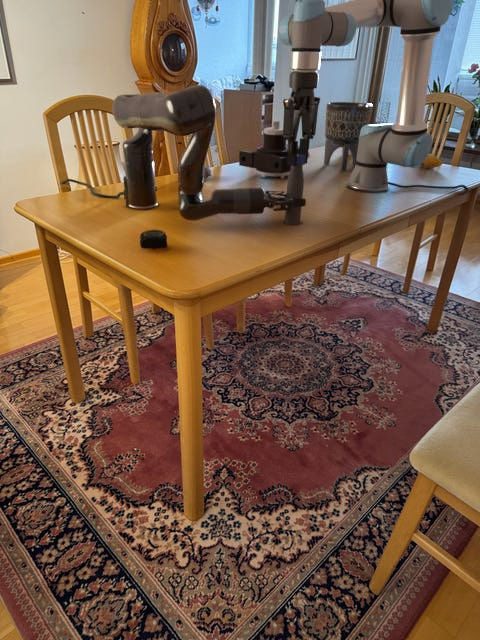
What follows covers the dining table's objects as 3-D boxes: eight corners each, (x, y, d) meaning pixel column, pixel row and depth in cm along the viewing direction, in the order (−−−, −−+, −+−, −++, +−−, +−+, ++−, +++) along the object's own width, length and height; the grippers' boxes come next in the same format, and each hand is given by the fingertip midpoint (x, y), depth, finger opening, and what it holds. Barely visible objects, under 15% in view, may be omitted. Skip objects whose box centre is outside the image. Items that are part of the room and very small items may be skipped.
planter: (313, 167, 208) (319, 103, 195) (331, 160, 222) (338, 101, 209) (353, 173, 199) (362, 107, 185) (369, 166, 213) (379, 104, 199)
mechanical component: (240, 120, 182) (283, 115, 202) (239, 174, 192) (280, 164, 212) (283, 126, 170) (325, 120, 190) (280, 183, 180) (320, 171, 200)
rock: (203, 174, 190) (203, 158, 187) (216, 178, 185) (216, 162, 181) (177, 179, 183) (176, 162, 179) (189, 183, 177) (189, 166, 174)
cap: (308, 164, 129) (308, 156, 128) (294, 165, 127) (295, 157, 126) (299, 161, 133) (300, 153, 132) (286, 162, 131) (286, 154, 130)
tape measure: (140, 252, 115) (139, 238, 113) (141, 242, 120) (140, 229, 119) (167, 251, 116) (166, 237, 114) (167, 241, 121) (166, 228, 120)
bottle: (281, 222, 138) (286, 159, 129) (289, 218, 142) (293, 157, 132) (295, 225, 136) (301, 161, 127) (302, 221, 139) (308, 159, 130)
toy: (416, 161, 206) (411, 154, 219) (419, 175, 209) (413, 167, 222) (442, 153, 203) (435, 147, 216) (444, 167, 206) (437, 160, 219)
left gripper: (251, 194, 125) (310, 193, 128) (243, 182, 138) (297, 181, 140) (250, 221, 129) (308, 219, 131) (242, 206, 141) (295, 205, 144)
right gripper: (312, 70, 126) (305, 158, 138) (271, 71, 115) (267, 166, 127) (335, 71, 122) (325, 161, 133) (295, 72, 111) (288, 170, 122)
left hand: (302, 199), depth 136 cm, fingers closed on bottle, 4 cm apart
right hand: (297, 163), depth 130 cm, fingers closed on cap, 4 cm apart
